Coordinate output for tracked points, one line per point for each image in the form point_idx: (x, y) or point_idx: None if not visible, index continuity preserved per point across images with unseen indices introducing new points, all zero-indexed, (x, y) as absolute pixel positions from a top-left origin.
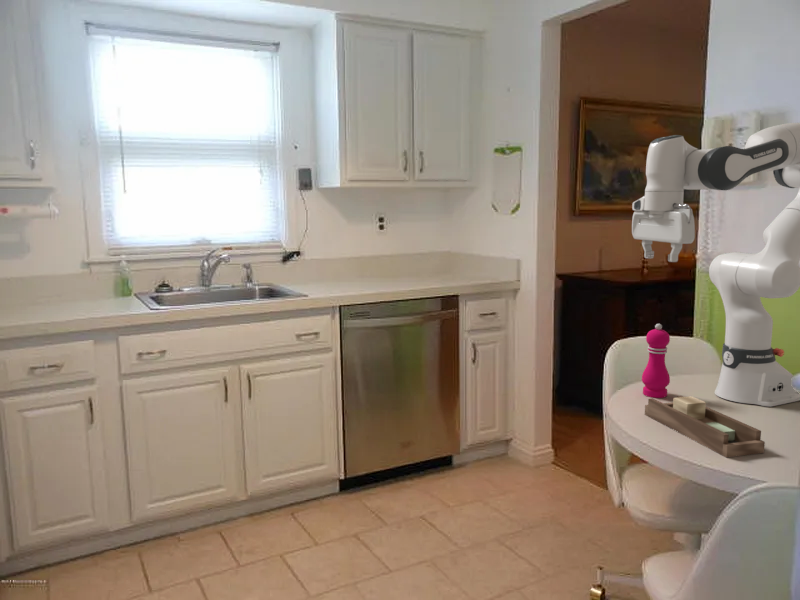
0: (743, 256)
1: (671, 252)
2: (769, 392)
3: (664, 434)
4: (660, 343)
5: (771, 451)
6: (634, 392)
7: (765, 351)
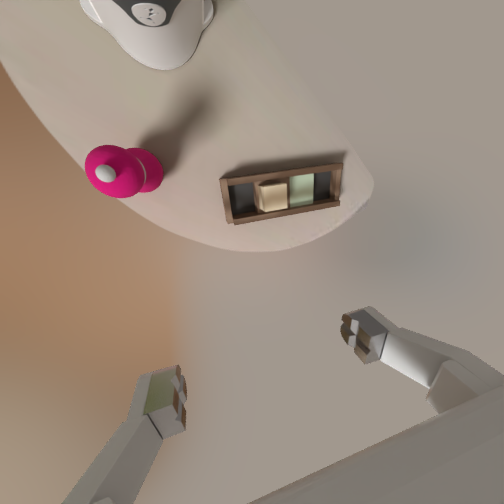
0: None
1: (399, 366)
2: None
3: (279, 226)
4: (144, 178)
5: (334, 152)
6: None
7: None
